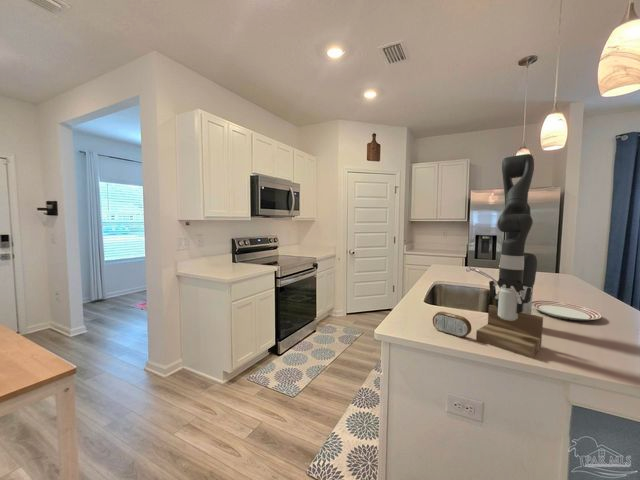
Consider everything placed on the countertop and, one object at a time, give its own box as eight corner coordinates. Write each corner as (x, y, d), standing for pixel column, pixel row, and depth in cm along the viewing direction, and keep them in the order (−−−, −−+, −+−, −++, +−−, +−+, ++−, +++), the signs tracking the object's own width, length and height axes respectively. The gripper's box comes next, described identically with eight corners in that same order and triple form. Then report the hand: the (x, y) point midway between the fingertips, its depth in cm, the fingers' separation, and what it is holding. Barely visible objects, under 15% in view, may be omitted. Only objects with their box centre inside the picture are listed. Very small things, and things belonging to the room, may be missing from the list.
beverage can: (520, 322, 103) (523, 290, 102) (501, 320, 104) (503, 289, 103) (512, 316, 109) (515, 286, 108) (494, 314, 110) (496, 284, 109)
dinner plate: (607, 317, 139) (608, 310, 139) (592, 329, 124) (592, 321, 123) (540, 302, 162) (541, 297, 161) (520, 311, 146) (521, 305, 146)
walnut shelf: (488, 332, 119) (489, 304, 118) (540, 348, 105) (543, 317, 104) (476, 340, 111) (477, 310, 110) (530, 358, 97) (533, 324, 96)
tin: (471, 338, 113) (472, 318, 112) (468, 340, 111) (469, 320, 110) (434, 327, 124) (434, 309, 123) (431, 329, 121) (431, 310, 121)
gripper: (538, 268, 102) (534, 313, 103) (494, 263, 113) (491, 304, 114) (531, 271, 97) (527, 318, 98) (486, 265, 108) (483, 307, 110)
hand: (508, 310), depth 106 cm, fingers closed on beverage can, 6 cm apart
